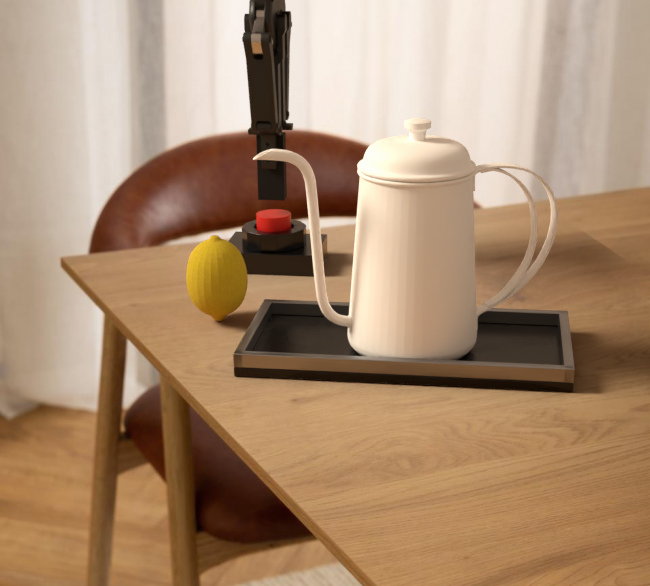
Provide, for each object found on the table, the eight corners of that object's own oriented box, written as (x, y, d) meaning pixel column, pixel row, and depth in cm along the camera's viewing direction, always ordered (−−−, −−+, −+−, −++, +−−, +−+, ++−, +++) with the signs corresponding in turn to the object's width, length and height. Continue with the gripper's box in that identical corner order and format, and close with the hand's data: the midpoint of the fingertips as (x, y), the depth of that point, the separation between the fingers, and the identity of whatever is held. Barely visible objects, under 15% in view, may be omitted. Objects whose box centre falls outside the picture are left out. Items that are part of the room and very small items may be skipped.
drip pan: (566, 331, 106) (567, 310, 105) (572, 392, 93) (574, 369, 92) (265, 319, 109) (264, 298, 108) (234, 376, 97) (232, 353, 96)
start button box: (327, 254, 127) (327, 217, 125) (316, 277, 120) (316, 238, 118) (236, 251, 128) (234, 214, 127) (220, 273, 121) (218, 235, 120)
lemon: (244, 308, 112) (240, 225, 108) (253, 328, 107) (250, 241, 103) (185, 313, 111) (180, 229, 107) (192, 333, 106) (186, 246, 102)
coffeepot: (250, 337, 103) (241, 113, 94) (523, 314, 107) (539, 99, 98) (271, 385, 93) (263, 141, 84) (569, 358, 98) (591, 124, 89)
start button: (294, 226, 124) (293, 209, 123) (288, 235, 121) (287, 218, 120) (260, 224, 124) (259, 208, 124) (253, 234, 121) (253, 217, 120)
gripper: (240, -59, 116) (249, 182, 127) (210, -51, 105) (222, 213, 116) (316, -59, 115) (318, 184, 126) (294, -50, 104) (298, 216, 115)
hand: (272, 198), depth 121 cm, fingers closed
